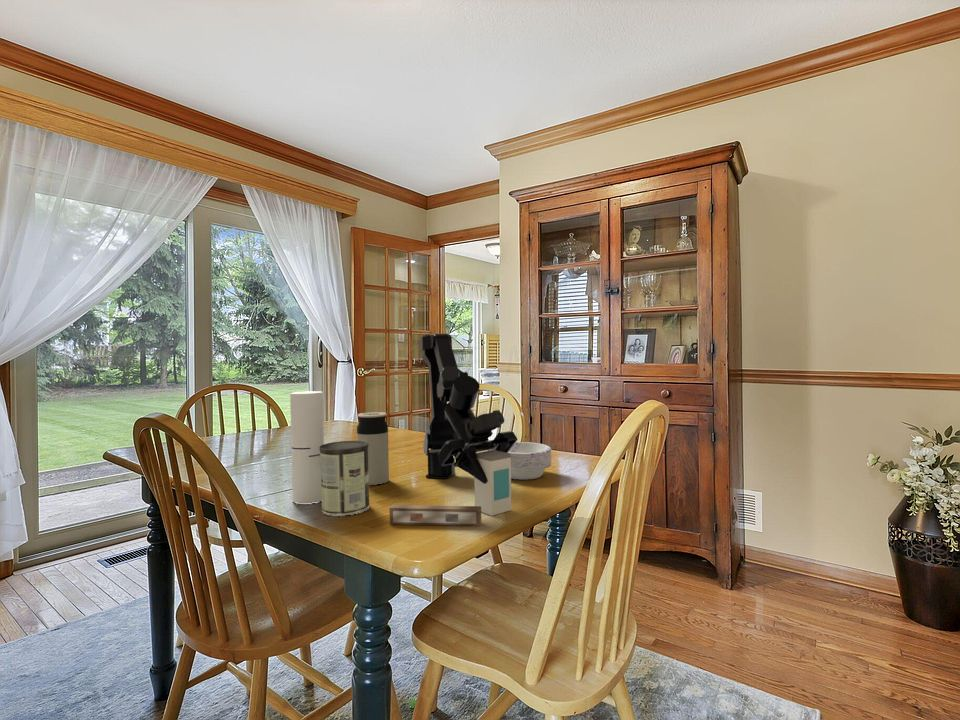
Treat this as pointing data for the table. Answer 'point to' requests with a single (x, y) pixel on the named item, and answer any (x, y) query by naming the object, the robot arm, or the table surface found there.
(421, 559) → the table surface
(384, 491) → the table surface
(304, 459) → the cylindrical container
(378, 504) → the table surface
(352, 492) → the coffee can
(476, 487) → the carton
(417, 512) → the brown wooden bar
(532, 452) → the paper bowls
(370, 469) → the travel mug
